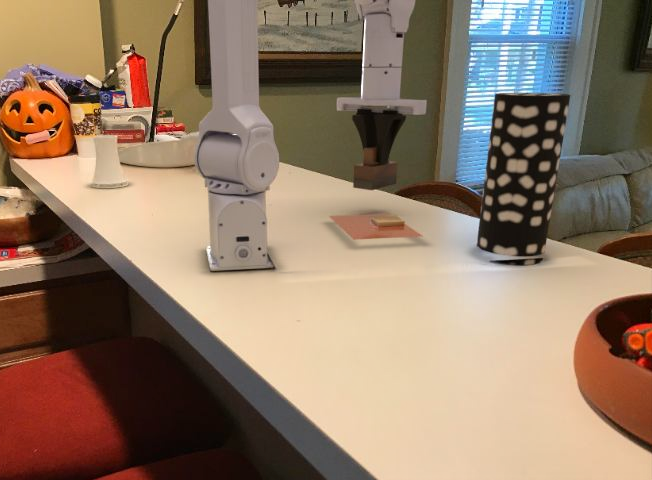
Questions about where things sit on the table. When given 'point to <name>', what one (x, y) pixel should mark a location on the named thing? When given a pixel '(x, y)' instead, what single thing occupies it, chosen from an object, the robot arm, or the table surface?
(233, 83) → the robot arm
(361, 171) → the brown stepped wooden block
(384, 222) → the bread slice
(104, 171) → the vase
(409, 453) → the table surface
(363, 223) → the tile
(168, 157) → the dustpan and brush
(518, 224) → the white-spotted black cylinder
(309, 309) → the table surface
